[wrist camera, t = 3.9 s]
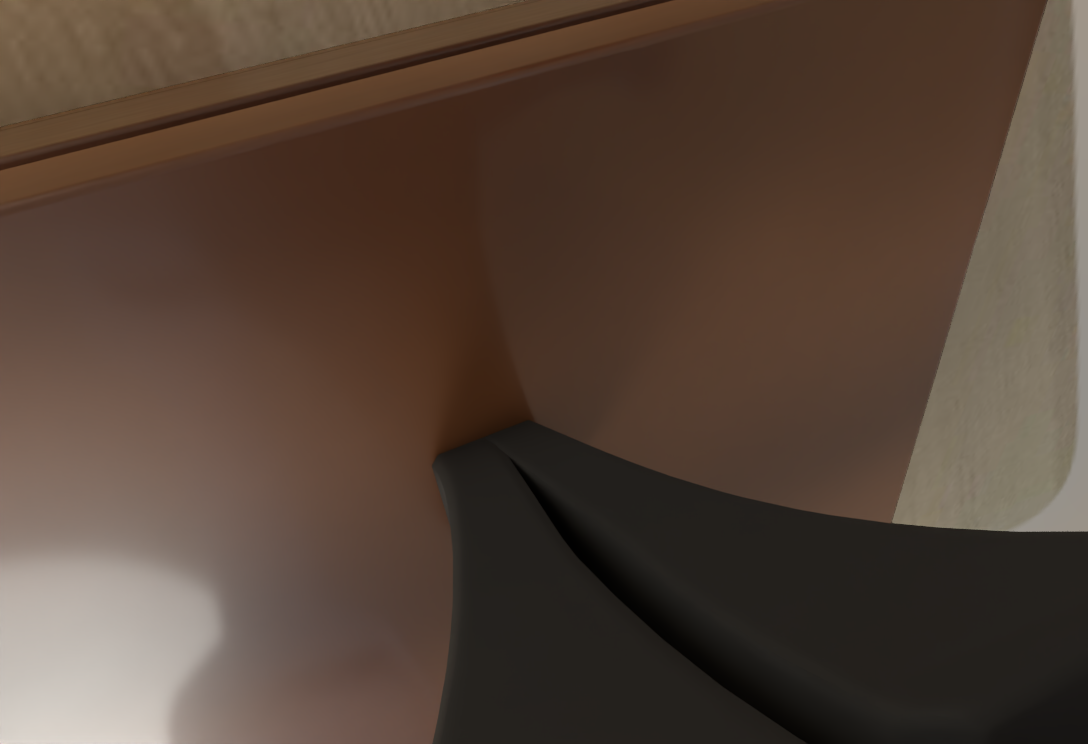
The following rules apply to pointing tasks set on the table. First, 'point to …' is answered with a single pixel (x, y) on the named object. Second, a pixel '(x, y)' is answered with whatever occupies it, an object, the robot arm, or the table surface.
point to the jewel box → (293, 77)
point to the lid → (461, 337)
